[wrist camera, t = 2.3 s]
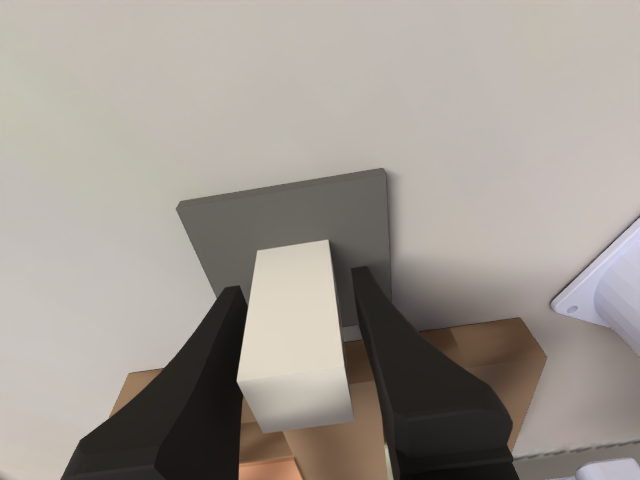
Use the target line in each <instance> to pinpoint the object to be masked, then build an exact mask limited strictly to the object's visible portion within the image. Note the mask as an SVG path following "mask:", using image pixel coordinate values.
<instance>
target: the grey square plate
mask: <svg viewBox="0 0 640 480" xmlns="http://www.w3.org/2000/svg"><path fill="white" fill-rule="evenodd" d="M176 210H177V213H178V215H179V217H180V219H181V221H182V224H183V226H184V228H185V230H186V232H187V234H188V237H189V239H190V241H191V243H192V245H193V247H194V250H195V252H196V254H197V256H198V258H199V261H200V263H201V265H202V267H203V269H204V271H205V274H206V276H207V278H208V280H209V282H210V285H211V287H212V289H213V291H214V293H215V295H216V298H218V297H219V295H220V294H221V292H222V291H223V289H224V288H225V287H230V286H237V285H240V287H241V290H242V293H243V295H244V298H245V300H246V303H247V305H248V306H249V300H250V293H251V287H252V281H253V274H254V268H255V262H256V256H257V251H258V250H265V249H271V248H278V247H284V246H290V245H297V244H303V243H309V242H316V241H322V240H328V241H329V247H330V253H331V258H332V264H333V270H334V276H335V282H336V288H337V294H338V301H339V309H340V316H341V324H342V327H347V326H354V325H359V321H358V316H357V310H356V304H355V297H354V289H353V282H352V274H351V268H355V267H362V266H367V267H368V268H369V269H370V271H371V273H372V275H373V277H374V279H375V280H376V282H377V283H378V285H379V286H380V288H381V289H382V291H383V292H384V293H385V295H386V296H387V297H388V299H389V300H390V301H391V302H392V297H391V275H390V253H389V232H388V210H387V188H386V174H385V172H384V170H383V168H379V169H373V170H367V171H361V172H355V173H349V174H343V175H337V176H331V177H325V178H319V179H313V180H307V181H301V182H294V183H288V184H282V185H276V186H270V187H264V188H258V189H252V190H246V191H240V192H234V193H228V194H222V195H216V196H209V197H203V198H197V199H191V200H185V201H180V203H179V204H178V206H177V208H176Z"/></svg>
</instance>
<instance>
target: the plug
mask: <svg viewBox="0 0 640 480" xmlns="http://www.w3.org/2000/svg"><path fill="white" fill-rule="evenodd" d="M237 383H238V385H239V387H240V389H241V391H242V393H243V395H244V397H245V399H246V401H247V403H248V405H249V407H250V409H251V410H252V412H253V414H254V416H255V418H256V420H257V422H258V424H259V426H260V428H261V430H262V432H263V434H264V433H271V432H279V431H287V430H294V429H302V428H309V427H317V426H324V425H332V424H340V423H347V422H355V420H354V413H353V406H352V398H351V391H350V383H349V376H348V368H347V361H346V353H345V346H344V339H343V331H342V324H341V316H340V309H339V301H338V294H337V288H336V282H335V276H334V270H333V264H332V258H331V253H330V247H329V241H328V240H322V241H316V242H309V243H303V244H297V245H290V246H284V247H278V248H271V249H265V250H258V251H257V256H256V262H255V268H254V274H253V281H252V287H251V293H250V300H249V306H248V312H247V319H246V325H245V331H244V337H243V344H242V350H241V356H240V363H239V369H238V375H237Z"/></svg>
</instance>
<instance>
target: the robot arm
mask: <svg viewBox="0 0 640 480" xmlns="http://www.w3.org/2000/svg"><path fill="white" fill-rule="evenodd" d="M351 274H352V282H353V289H354V297H355V304H356V310H357V316H358V321H359V327H360V330H361V334H362V338H363V341H364V345H365V348H366V352H367V355H368V359H369V362H370V366H371V369H372V373H373V376H374V380H375V384H376V389H377V394H378V399H379V404H380V410H381V415H382V420H383V426H384V431H385V436H386V442H387V447H388V453H389V458H390V463H391V469H392V474H393V480H519V477H518V475H517V473H516V471H515V468H514V466H513V464H512V462H513V456H512V454H511V452H510V450H509V448H508V445H507V443H508V440H509V437H510V434H511V431H512V429H513V421H512V419H511V417H510V415H509V413H508V411H507V409H506V408H505V406H504V404H503V403H502V401H501V400H500V398H499V397H498V395H497V394H496V393H495V391H494V390H493V389H492V387H491V386H490V385H489V384H487V383H485V382H484V381H482V380H481V379H479V378H477V377H476V376H474V375H473V374H471V373H470V372H468V371H467V370H465V369H464V368H462V367H461V366H460V365H458V364H457V363H455V362H454V361H453V360H451V359H450V358H449V357H448V356H446V355H445V354H444V353H443V352H441V351H440V350H439V349H438V348H436V347H435V346H434V345H433V344H431V343H430V342H429V341H428V340H427V339H426V338H425V337H423V336H422V335H421V334H420V333H419V332H418V331H417V330H416V329H415V328H414V327H413V326H412V325H411V324H410V323H409V322H408V321H407V320H406V319H405V318H404V317H403V315H402V314H401V313H400V312H399V311H398V310H397V309H396V307H395V306H394V305H393V304H392V302H391V301H390V300H389V299H388V297H387V296H386V295H385V293H384V292H383V291H382V289H381V288H380V286H379V285H378V283H377V282H376V280H375V279H374V277H373V275H372V273H371V271H370V269H369V268H368V267H367V266H362V267H355V268H351ZM551 307H552V309H553V310H554V311H555V312H556V313H559V314H562V315H566V316H569V317H573V318H576V319H580V320H583V321H587V322H590V323H594V324H597V325H601V326H604V327H608V328H612V329H613V330H614V331H615V332H616V333H617V334H618V335H619V336H620V337H621V338H622V339H623V340H624V341H625V343H626V344H627V345H628V346H629V347H630V348H631V349H632V350H633V351H634V352H635V353H636V354H637V355H638V356H639V357H640V218H639V219H638V220H636V221H635V222H634V223H633V224H632V225H631V226H630V227H629V228H628V229H627V230H626V231H625V232H624V233H623V234H622V235H621V236H620V237H619V238H618V239H617V240H616V241H614V242H613V243H612V244H611V245H610V246H609V247H608V248H607V249H606V250H605V251H604V252H603V253H602V254H601V255H600V256H599V257H598V258H597V259H596V260H595V261H594V262H593V263H591V264H590V265H589V266H588V267H587V268H586V269H585V270H584V271H583V272H582V273H581V274H580V275H579V276H578V277H577V278H576V279H575V280H574V281H573V282H572V283H571V284H570V285H568V286H567V287H566V288H565V289H564V290H563V291H562V292H561V293H560V294H559V295H558V296H557V297H556V298H555V299H554V300H553V301H552V303H551ZM247 312H248V305H247V303H246V300H245V298H244V295H243V293H242V290H241V287H240V285H237V286H230V287H225V288H224V289H223V291H222V292H221V294H220V295H219V297H218V298H217V300H216V301H215V303H214V304H213V306H212V307H211V309H210V310H209V312H208V313H207V315H206V316H205V318H204V319H203V320H202V322H201V323H200V325H199V326H198V328H197V329H196V330H195V332H194V333H193V334H192V336H191V337H190V338H189V340H188V341H187V342H186V343H185V345H184V346H183V347H182V349H181V350H180V351H179V352H178V353H177V355H176V356H175V357H174V358H173V359H172V360H171V361H170V362H169V364H168V365H167V366H166V367H165V368H164V369H163V370H162V371H161V372H160V373H159V374H158V375H157V376H156V377H155V378H154V379H153V380H152V381H151V382H150V383H149V384H148V385H147V386H146V387H145V388H144V389H143V390H142V391H141V392H140V393H138V394H137V395H136V396H135V397H134V398H133V399H132V400H131V401H129V402H128V403H127V404H126V405H125V406H124V407H122V408H121V409H120V410H119V411H118V412H116V413H115V414H114V415H113V416H111V417H110V418H109V419H108V420H106V421H105V422H104V423H102V424H101V425H100V426H98V427H97V428H96V429H94V430H93V431H92V432H90V433H89V434H88V435H87V436H85V437H84V438H82V439H81V440H80V442H79V443H78V445H77V447H76V449H75V451H74V453H73V455H72V457H71V459H70V461H69V463H68V465H67V467H66V469H65V472H64V474H63V476H62V478H61V480H239V452H240V430H241V415H242V403H243V393H242V391H241V389H240V387H239V385H238V383H237V375H238V369H239V363H240V356H241V350H242V344H243V337H244V331H245V325H246V319H247ZM545 480H640V466H639V465H638V464H637V462H636V461H635V460H634V459H633V458H630V457H626V458H617V459H609V460H601V461H593V462H589V463H586V464H583V465H582V466H580V467H579V468H578V469H577V472H576V475H575V476H570V477H563V478H555V479H545Z"/></svg>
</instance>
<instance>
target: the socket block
mask: <svg viewBox="0 0 640 480" xmlns="http://www.w3.org/2000/svg"><path fill="white" fill-rule="evenodd" d="M419 333H420V334H421V335H422V336H423V337H425V338H426V339H427V340H428V341H429V342H430V343H431V344H433V345H434V346H435V347H436V348H438V349H439V350H440V351H441V352H443V353H444V354H445V355H446V356H448V357H449V358H450V359H451V360H453V361H454V362H455V363H457V364H458V365H460V366H461V367H462V368H464V369H465V370H467V371H468V372H470V373H471V374H473V375H474V376H476V377H477V378H479V379H481V380H482V381H484V382H485V383H487V384H489V385H490V386H491V387H492V389H493V390H494V391H495V393H496V394H497V395H498V397H499V398H500V400H501V401H502V403H503V404H504V406H505V408H506V409H507V411H508V413H509V415H510V417H511V419H512V421H513V429H512V431H511V434H510V437H509V440H508V443H507V445H508V448H509V450H510V452H511V453H512V451H513V448H514V445H515V443H516V440H517V437H518V434H519V432H520V429H521V426H522V424H523V421H524V418H525V416H526V413H527V410H528V408H529V405H530V402H531V400H532V397H533V394H534V392H535V389H536V386H537V384H538V381H539V378H540V376H541V373H542V370H543V368H544V365H545V362H546V360H547V356H546V354H545V353H544V351H543V350H542V348H541V347H540V346H539V344H538V343H537V341H536V340H535V338H534V337H533V335H532V334H531V333H530V331H529V330H528V328H527V327H526V325H525V324H524V323H523V321H522V320H521V318H514V319H507V320H500V321H493V322H486V323H479V324H472V325H465V326H458V327H451V328H444V329H437V330H430V331H423V332H419ZM344 346H345V353H346V361H347V368H348V376H349V383H350V391H351V398H352V406H353V413H354V420H355V422H347V423H340V424H332V425H324V426H317V427H309V428H302V429H294V430H287V431H279V432H271V433H264V434H263V432H262V430H261V428H260V426H259V424H258V422H257V420H256V418H255V416H254V414H253V412H252V410H251V409H250V407H249V405H248V403H247V401H246V399H245V397H244V395H243V403H242V415H241V430H240V452H239V480H383V479H388V480H393V474H392V469H391V463H390V458H389V453H388V447H387V442H386V436H385V431H384V426H383V420H382V415H381V410H380V404H379V399H378V394H377V389H376V384H375V380H374V376H373V373H372V369H371V366H370V362H369V359H368V355H367V352H366V348H365V345H364V341H363V340H360V341H353V342H346V343H344ZM162 370H163V369H157V370H150V371H143V372H136V373H129V374H128V376H127V378H126V381H125V383H124V385H123V387H122V390H121V392H120V394H119V396H118V399H117V401H116V403H115V405H114V407H113V410H112V412H111V414H110V416H109V417H111V416H113V415H114V414H115V413H116V412H118V411H119V410H120V409H121V408H122V407H124V406H125V405H126V404H127V403H128V402H129V401H131V400H132V399H133V398H134V397H135V396H136V395H137V394H138V393H140V392H141V391H142V390H143V389H144V388H145V387H146V386H147V385H148V384H149V383H150V382H151V381H152V380H153V379H154V378H155V377H156V376H157V375H158V374H159V373H160V372H161V371H162Z"/></svg>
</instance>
